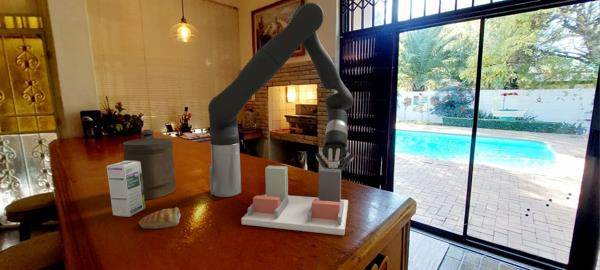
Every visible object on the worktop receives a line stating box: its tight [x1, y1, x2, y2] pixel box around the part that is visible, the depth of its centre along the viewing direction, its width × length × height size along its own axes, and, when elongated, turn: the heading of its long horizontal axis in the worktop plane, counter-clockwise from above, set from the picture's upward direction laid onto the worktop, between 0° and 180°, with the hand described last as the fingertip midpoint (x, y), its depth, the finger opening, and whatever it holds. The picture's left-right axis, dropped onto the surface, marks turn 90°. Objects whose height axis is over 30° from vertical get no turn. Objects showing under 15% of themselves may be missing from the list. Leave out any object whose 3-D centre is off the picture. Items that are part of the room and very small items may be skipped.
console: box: [241, 194, 349, 236], centre depth 71 cm, size 26×18×6 cm
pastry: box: [138, 206, 182, 230], centre depth 67 cm, size 9×7×4 cm
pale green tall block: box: [264, 165, 289, 202], centre depth 77 cm, size 6×3×10 cm, turn 77°
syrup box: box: [106, 160, 147, 218], centre depth 73 cm, size 6×6×14 cm
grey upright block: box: [318, 167, 342, 203], centre depth 74 cm, size 6×3×10 cm, turn 77°
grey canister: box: [122, 129, 177, 201], centre depth 88 cm, size 15×15×22 cm
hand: (332, 180), depth 79 cm, fingers closed
